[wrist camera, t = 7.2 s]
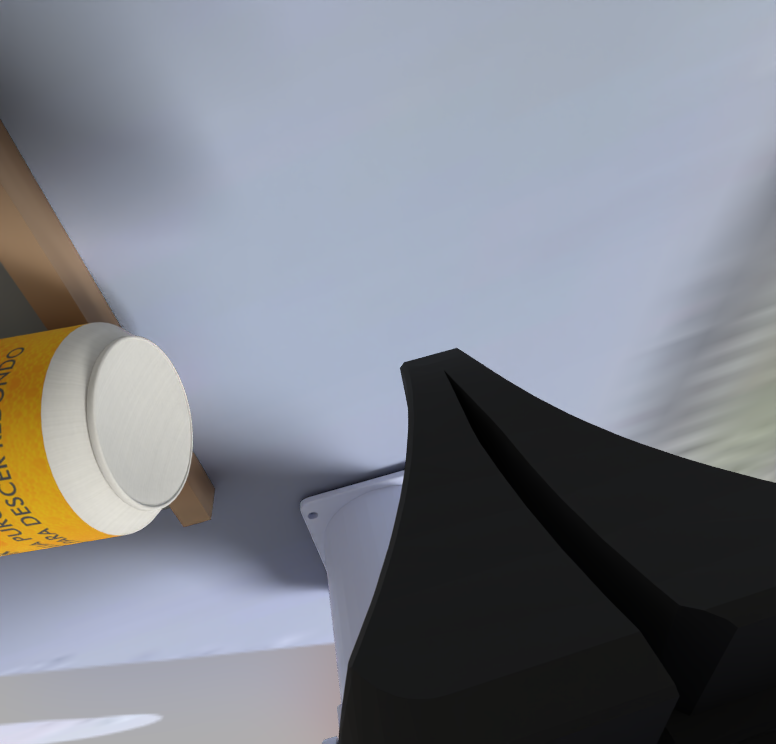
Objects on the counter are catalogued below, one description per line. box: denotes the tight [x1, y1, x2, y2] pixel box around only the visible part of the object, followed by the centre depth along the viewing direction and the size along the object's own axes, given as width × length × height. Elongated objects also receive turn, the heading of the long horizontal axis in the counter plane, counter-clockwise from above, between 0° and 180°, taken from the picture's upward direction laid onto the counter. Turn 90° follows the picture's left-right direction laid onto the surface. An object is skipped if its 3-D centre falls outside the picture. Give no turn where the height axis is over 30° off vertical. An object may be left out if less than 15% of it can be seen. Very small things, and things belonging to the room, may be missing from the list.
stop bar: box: [0, 120, 215, 527], centre depth 16 cm, size 18×1×2 cm, turn 10°
